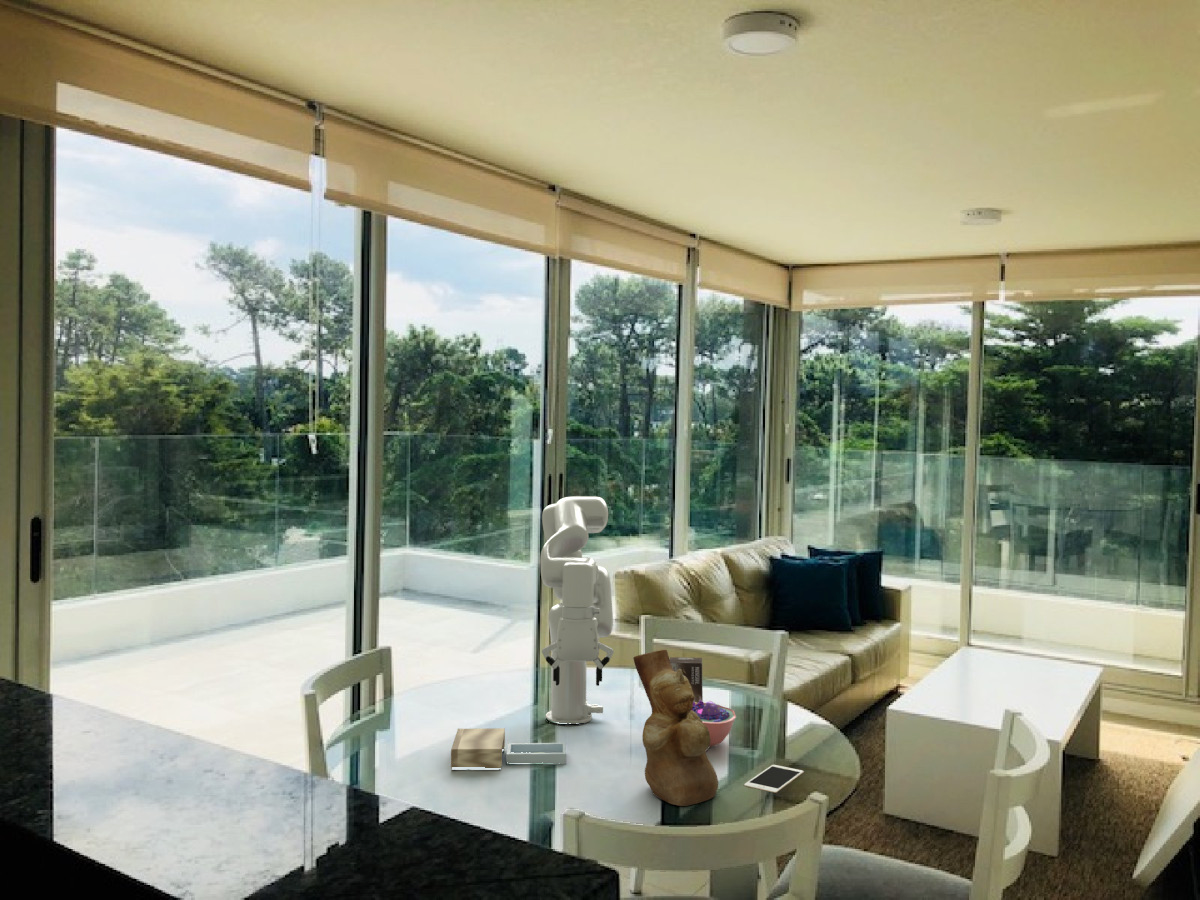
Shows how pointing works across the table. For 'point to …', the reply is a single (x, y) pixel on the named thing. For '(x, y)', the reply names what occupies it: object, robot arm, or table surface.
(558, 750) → the grey shallow tray
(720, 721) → the cell model
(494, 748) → the wooden block
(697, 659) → the coffee box
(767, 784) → the cell phone
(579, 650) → the robot arm
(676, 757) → the ceramic vessel
